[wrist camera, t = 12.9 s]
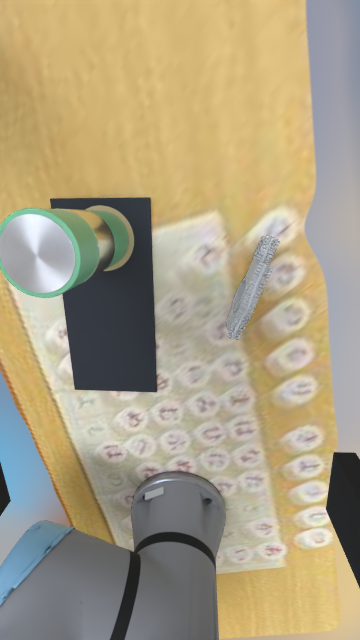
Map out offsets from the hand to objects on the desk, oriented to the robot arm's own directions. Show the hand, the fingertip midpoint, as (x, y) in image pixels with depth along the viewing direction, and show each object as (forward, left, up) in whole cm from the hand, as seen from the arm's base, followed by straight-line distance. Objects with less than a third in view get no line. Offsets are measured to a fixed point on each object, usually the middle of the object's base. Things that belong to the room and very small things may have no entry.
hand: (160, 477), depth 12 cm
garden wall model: (+2, -7, -30) cm, 31 cm away
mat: (-1, +11, -29) cm, 31 cm away
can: (+4, +11, -21) cm, 24 cm away
